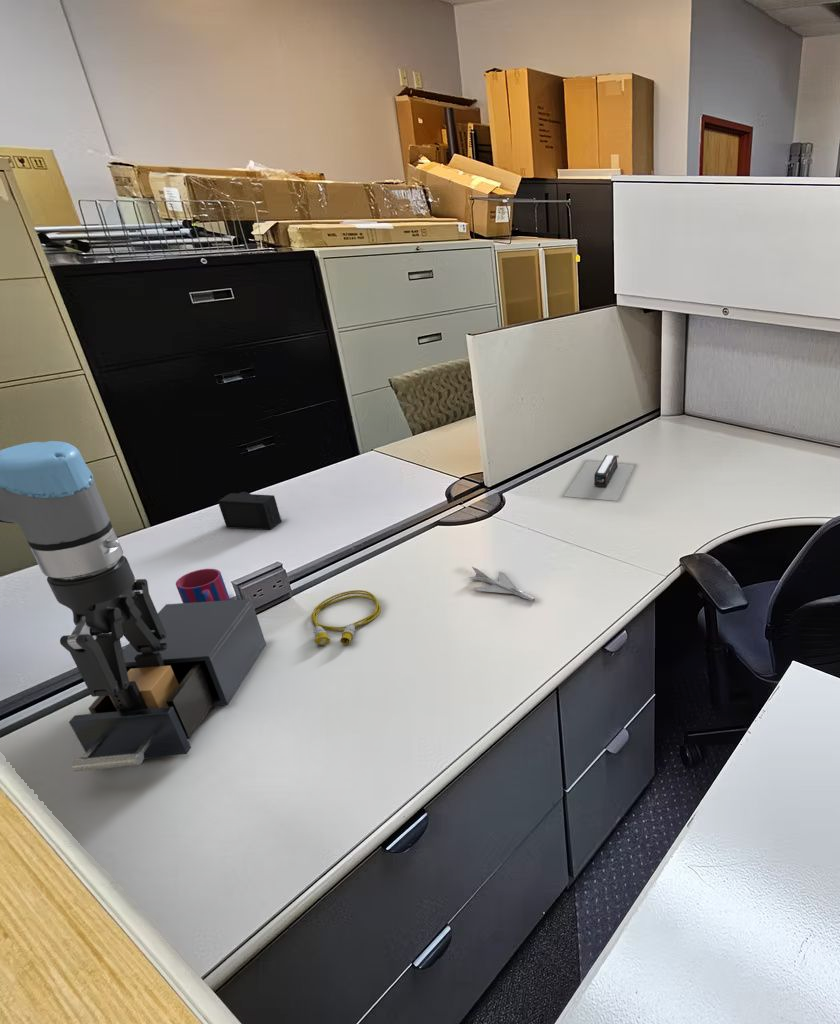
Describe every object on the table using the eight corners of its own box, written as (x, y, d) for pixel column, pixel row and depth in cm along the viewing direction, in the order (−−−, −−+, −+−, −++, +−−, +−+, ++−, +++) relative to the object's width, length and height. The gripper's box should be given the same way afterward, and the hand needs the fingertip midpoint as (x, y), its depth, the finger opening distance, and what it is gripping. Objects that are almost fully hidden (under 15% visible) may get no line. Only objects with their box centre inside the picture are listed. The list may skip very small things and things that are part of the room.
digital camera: (285, 519, 147) (278, 492, 144) (271, 530, 142) (263, 502, 139) (242, 516, 147) (233, 490, 144) (226, 527, 142) (217, 500, 139)
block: (122, 721, 85) (108, 693, 82) (143, 695, 89) (130, 668, 87) (163, 717, 86) (150, 690, 83) (182, 691, 90) (170, 665, 88)
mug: (228, 594, 120) (218, 564, 117) (236, 619, 113) (225, 589, 110) (186, 606, 116) (174, 575, 113) (190, 633, 109) (178, 601, 106)
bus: (634, 465, 186) (634, 452, 184) (617, 500, 164) (617, 486, 162) (587, 461, 187) (586, 448, 185) (564, 496, 165) (563, 481, 163)
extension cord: (281, 641, 108) (278, 632, 107) (339, 591, 122) (337, 583, 121) (345, 651, 107) (342, 642, 106) (396, 599, 121) (395, 591, 120)
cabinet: (227, 704, 95) (208, 656, 90) (134, 713, 93) (110, 663, 88) (266, 644, 108) (251, 598, 103) (185, 650, 105) (166, 604, 101)
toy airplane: (521, 612, 119) (520, 602, 118) (445, 578, 128) (444, 569, 127) (548, 593, 125) (547, 583, 124) (473, 562, 134) (472, 553, 133)
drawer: (167, 784, 81) (146, 742, 77) (66, 795, 79) (40, 752, 75) (231, 686, 97) (216, 647, 94) (149, 693, 95) (130, 653, 91)
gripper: (71, 606, 69) (144, 752, 80) (161, 529, 85) (211, 660, 96) (-8, 610, 68) (77, 759, 79) (98, 531, 84) (156, 664, 94)
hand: (150, 704), depth 87 cm, fingers closed on block, 5 cm apart
